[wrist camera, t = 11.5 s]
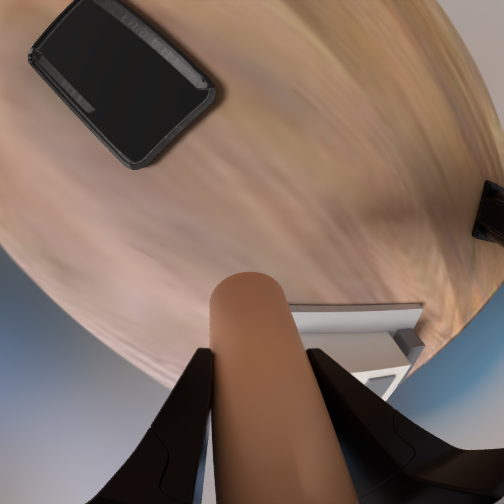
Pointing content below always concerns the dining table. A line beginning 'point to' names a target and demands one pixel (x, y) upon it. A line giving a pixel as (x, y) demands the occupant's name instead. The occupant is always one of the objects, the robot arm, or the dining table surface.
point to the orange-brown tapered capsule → (268, 404)
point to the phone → (121, 78)
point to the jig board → (364, 323)
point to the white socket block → (364, 357)
